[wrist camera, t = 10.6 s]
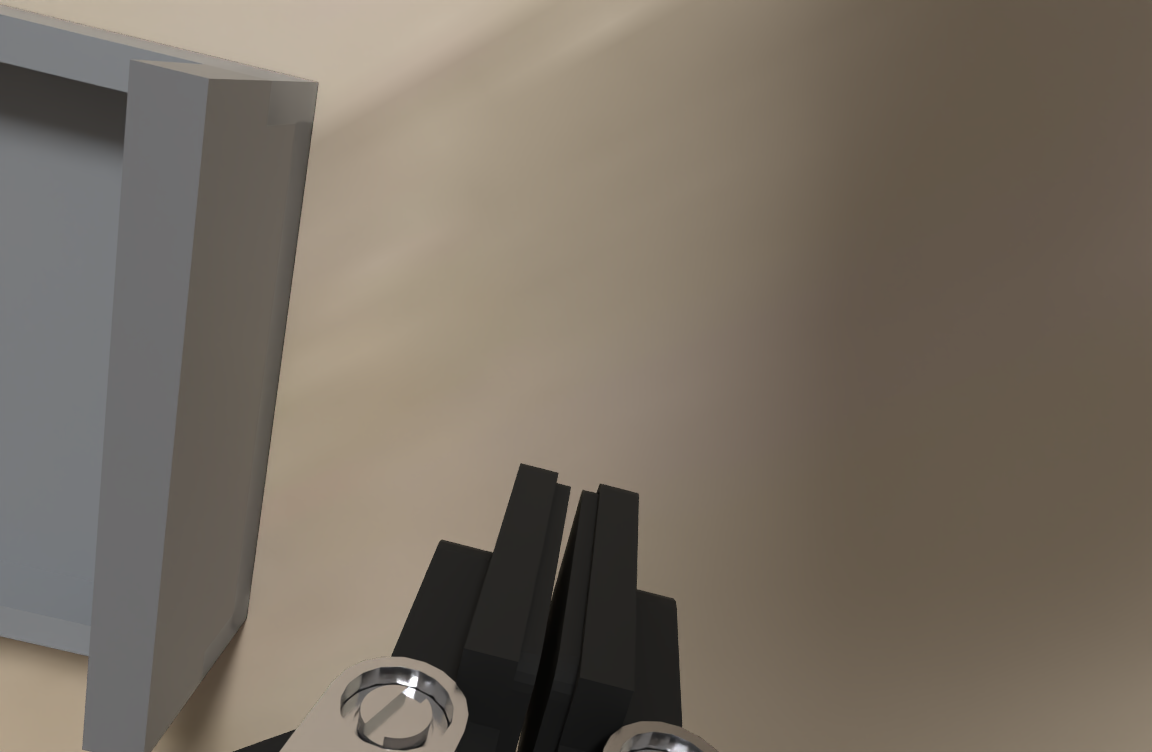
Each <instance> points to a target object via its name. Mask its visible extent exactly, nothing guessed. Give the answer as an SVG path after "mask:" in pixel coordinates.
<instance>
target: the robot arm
mask: <svg viewBox="0 0 1152 752" xmlns="http://www.w3.org/2000/svg"><path fill="white" fill-rule="evenodd" d="M557 478H558V473H557V472H553V471H549V470H545V469H541V468H537V467H533V466H529V465H526V464H522V463H521V464H520V467H519V470H518V473H517V477H516V480H515V483H514V487H513V490H512V493H511V496H510V500H509V503H508V506H507V509H506V513H505V516H504V519H503V522H502V526H501V529H500V532H499V535H498V539H497V542H496V545H495V549H494V552H493V553H492V552H488V551H484V550H481V549H477V548H473V547H469V546H465V545H461V544H457V543H453V542H449V541H445V540H441V541H440V542H439V544H438V546H437V549H436V551H435V553H434V556H433V558H432V560H431V563H430V565H429V568H428V570H427V572H426V575H425V577H424V579H423V582H422V584H421V587H420V589H419V591H418V594H417V596H416V599H415V601H414V603H413V606H412V608H411V610H410V613H409V615H408V618H407V620H406V622H405V625H404V627H403V629H402V632H401V634H400V637H399V639H398V641H397V644H396V646H395V648H394V651H393V653H392V656H391V657H379V658H374V659H369V660H364V661H361V662H359V663H357V664H355V665H353V666H351V667H349V668H347V669H345V670H344V671H343V672H342V673H341V674H340V675H339V676H338V677H336V678H335V679H334V680H333V681H332V682H331V684H330V685H329V686H328V688H327V689H326V690H325V692H324V693H323V694H322V696H321V697H320V698H319V700H318V701H317V702H316V704H315V705H314V706H313V708H312V709H311V710H310V712H309V713H308V714H307V716H306V717H305V718H304V720H303V721H302V722H301V724H300V725H299V726H298V728H297V729H295V730H292V731H290V732H287V733H284V734H281V735H278V736H276V737H273V738H270V739H267V740H264V741H262V742H259V743H256V744H253V745H250V746H248V747H245V748H242V749H239V750H237V751H234V752H515V751H516V747H517V744H518V740H519V737H520V741H519V746H518V752H718V751H717V750H716V749H715V748H714V747H712V746H711V745H710V744H709V743H707V742H706V741H705V740H704V739H702V738H701V737H700V736H698V735H696V734H694V733H692V732H690V731H688V730H686V729H684V728H682V711H681V690H680V669H679V648H678V626H677V607H676V601H675V600H674V599H673V598H669V597H665V596H661V595H657V594H653V593H649V592H645V591H641V590H637V550H638V509H639V494H638V493H635V492H631V491H627V490H623V489H619V488H615V487H611V486H607V485H604V484H600V485H599V487H598V490H597V493H593V492H589V491H585V490H583V491H582V493H581V497H580V500H579V504H578V507H577V511H576V514H575V518H574V521H573V525H572V528H571V532H570V536H569V539H568V543H567V546H566V550H565V553H564V557H563V560H562V564H561V567H560V571H559V575H558V578H557V582H556V585H555V589H554V592H553V596H552V591H553V586H554V580H555V574H556V569H557V563H558V557H559V552H560V546H561V541H562V535H563V529H564V524H565V518H566V512H567V507H568V501H569V495H570V490H571V487H570V486H566V485H562V484H558V483H556V482H557ZM551 597H552V599H551ZM520 733H521V735H520Z"/></svg>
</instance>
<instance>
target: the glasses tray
mask: <svg viewBox="0 0 1152 752" xmlns="http://www.w3.org/2000/svg"><path fill="white" fill-rule="evenodd" d="M317 88H318V82H315V81H311V80H307V79H303V78H299V77H295V76H291V75H287V74H283V73H279V72H275V71H270V70H266V69H262V68H258V67H254V66H250V65H246V64H242V63H238V62H234V61H230V60H226V59H221V58H217V57H213V56H209V55H205V54H201V53H197V52H193V51H189V50H185V49H181V48H176V47H172V46H168V45H164V44H160V43H156V42H152V41H148V40H144V39H140V38H136V37H132V36H127V35H123V34H119V33H115V32H111V31H107V30H103V29H99V28H95V27H91V26H87V25H82V24H78V23H74V22H70V21H66V20H62V19H58V18H54V17H50V16H46V15H42V14H38V13H33V12H29V11H25V10H21V9H17V8H13V7H9V6H5V5H1V4H0V636H2V637H6V638H10V639H15V640H19V641H24V642H28V643H32V644H37V645H41V646H46V647H50V648H54V649H59V650H63V651H68V652H72V653H76V654H81V655H85V656H89V660H88V674H87V689H86V703H85V718H84V732H83V747H82V750H86V751H90V752H151V751H152V750H153V748H154V747H155V746H156V744H157V743H158V741H159V740H160V739H161V737H162V736H163V734H164V733H165V732H166V730H167V729H168V727H169V726H170V725H171V723H172V722H173V720H174V719H175V718H176V716H177V715H178V713H179V712H180V711H181V709H182V708H183V706H184V705H185V704H186V702H187V701H188V699H189V698H190V697H191V695H192V694H193V692H194V691H195V690H196V688H197V687H198V685H199V684H200V683H201V681H202V680H203V678H204V677H205V676H206V674H207V673H208V671H209V670H210V669H211V667H212V666H213V664H214V663H215V662H216V660H217V659H218V657H219V656H220V655H221V653H222V652H223V650H224V649H225V648H226V646H227V645H228V643H229V642H230V641H231V639H232V638H233V636H234V635H235V634H236V632H237V631H238V629H239V628H240V627H241V625H242V624H243V622H244V621H245V620H246V618H247V611H248V604H249V596H250V589H251V581H252V574H253V567H254V559H255V552H256V544H257V537H258V529H259V522H260V514H261V507H262V499H263V492H264V484H265V477H266V469H267V462H268V454H269V447H270V440H271V432H272V425H273V417H274V410H275V402H276V395H277V387H278V380H279V372H280V365H281V357H282V350H283V342H284V335H285V327H286V320H287V313H288V305H289V298H290V290H291V283H292V275H293V268H294V260H295V253H296V245H297V238H298V230H299V223H300V215H301V208H302V200H303V193H304V186H305V178H306V171H307V163H308V156H309V148H310V141H311V133H312V126H313V118H314V111H315V103H316V96H317Z"/></svg>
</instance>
